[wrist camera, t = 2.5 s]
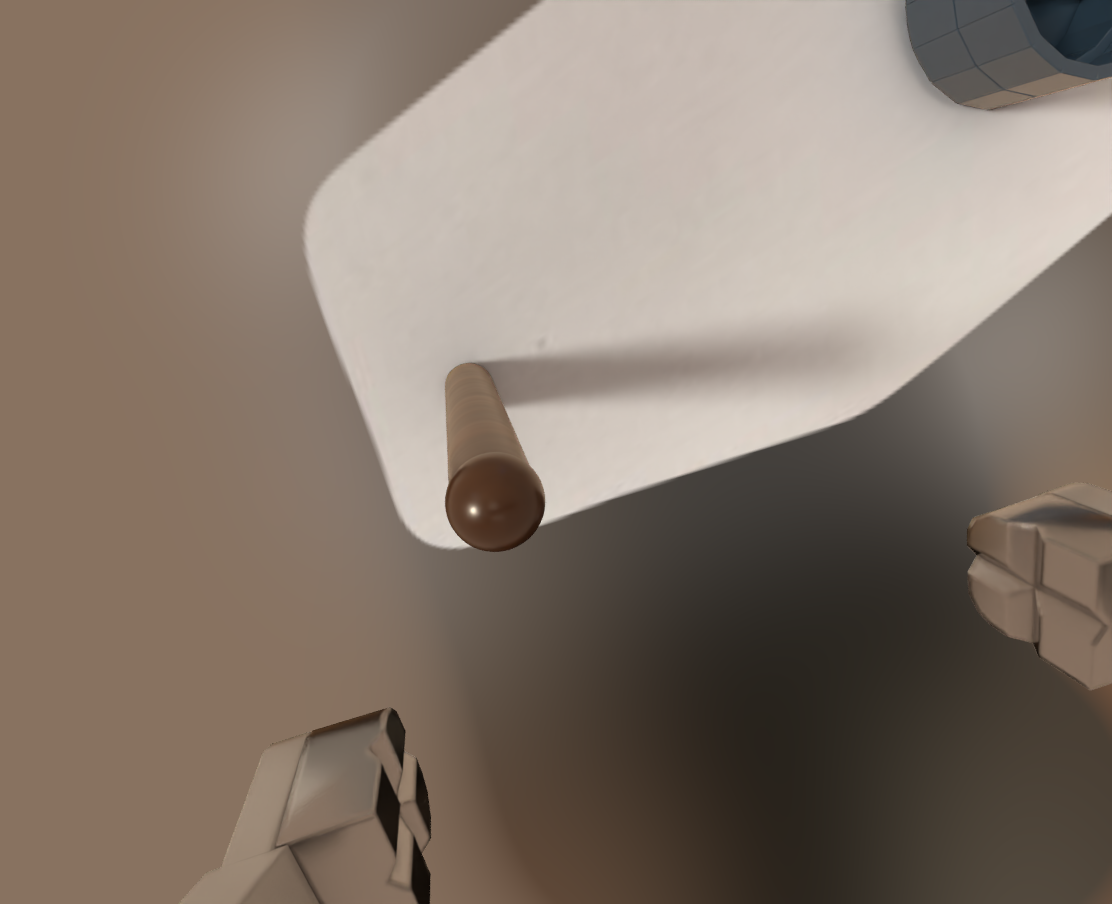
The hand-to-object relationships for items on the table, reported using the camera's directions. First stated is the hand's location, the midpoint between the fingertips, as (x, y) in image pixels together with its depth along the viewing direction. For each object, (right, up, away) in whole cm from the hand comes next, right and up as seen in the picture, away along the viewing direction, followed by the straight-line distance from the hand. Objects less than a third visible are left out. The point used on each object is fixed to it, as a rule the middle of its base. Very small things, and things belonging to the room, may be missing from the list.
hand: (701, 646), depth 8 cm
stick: (-6, +6, +20) cm, 21 cm away
